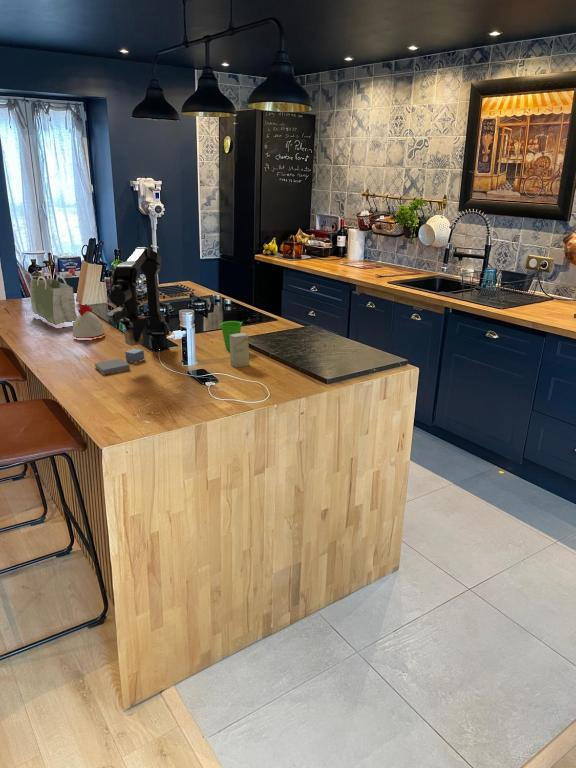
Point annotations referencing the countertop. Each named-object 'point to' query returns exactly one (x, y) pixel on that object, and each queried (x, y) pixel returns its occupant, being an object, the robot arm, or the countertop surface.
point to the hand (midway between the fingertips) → (134, 340)
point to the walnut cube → (132, 338)
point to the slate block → (134, 355)
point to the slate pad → (112, 366)
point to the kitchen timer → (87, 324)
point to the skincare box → (239, 350)
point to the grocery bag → (53, 300)
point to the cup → (230, 331)
